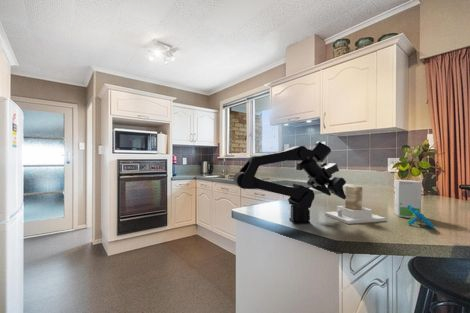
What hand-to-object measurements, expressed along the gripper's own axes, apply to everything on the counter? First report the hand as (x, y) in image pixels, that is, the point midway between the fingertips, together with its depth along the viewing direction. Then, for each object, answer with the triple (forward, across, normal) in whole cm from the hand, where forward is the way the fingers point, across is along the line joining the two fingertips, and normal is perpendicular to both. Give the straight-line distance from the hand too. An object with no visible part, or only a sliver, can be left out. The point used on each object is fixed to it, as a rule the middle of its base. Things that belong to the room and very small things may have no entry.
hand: (337, 196), depth 94 cm
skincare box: (+30, -3, -17) cm, 34 cm away
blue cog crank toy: (+24, -15, -10) cm, 30 cm away
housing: (+12, 0, +1) cm, 12 cm away
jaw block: (+11, 0, 0) cm, 11 cm away
